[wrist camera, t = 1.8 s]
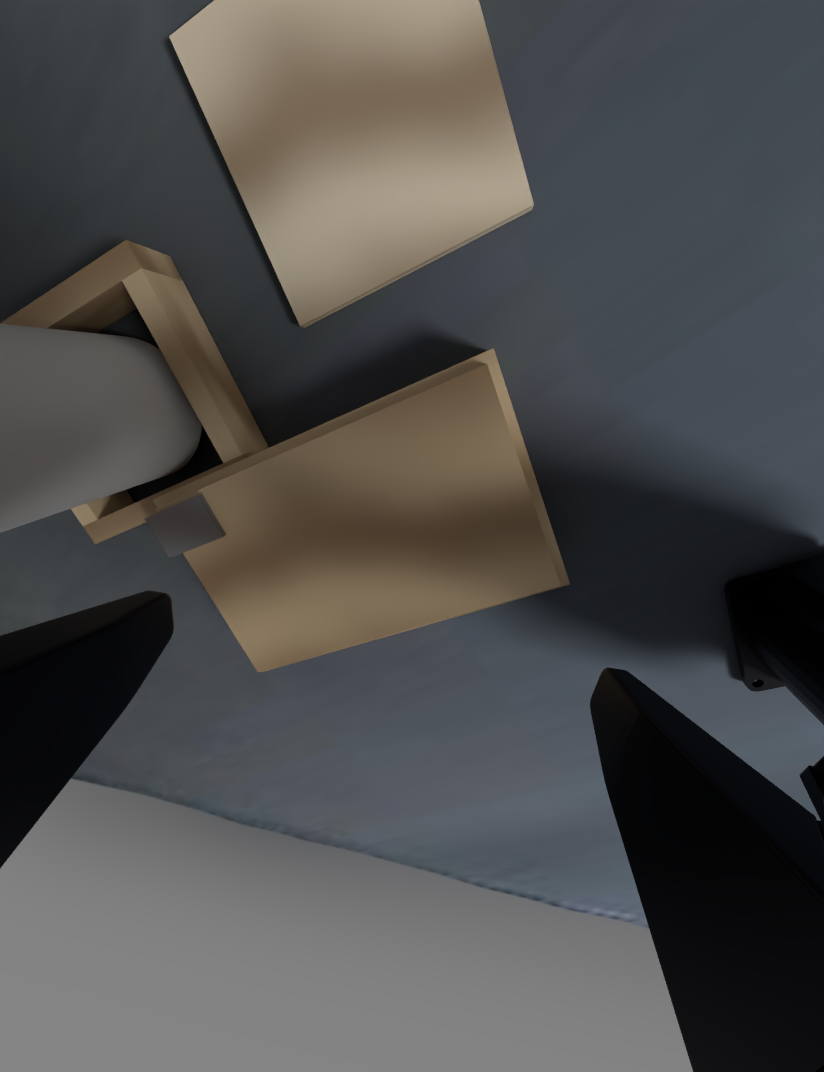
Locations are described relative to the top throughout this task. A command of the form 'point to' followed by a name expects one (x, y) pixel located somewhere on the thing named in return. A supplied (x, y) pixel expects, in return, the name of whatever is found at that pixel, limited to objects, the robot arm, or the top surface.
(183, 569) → the top surface
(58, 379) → the beverage can
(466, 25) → the cork mat
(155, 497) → the wooden notched board
